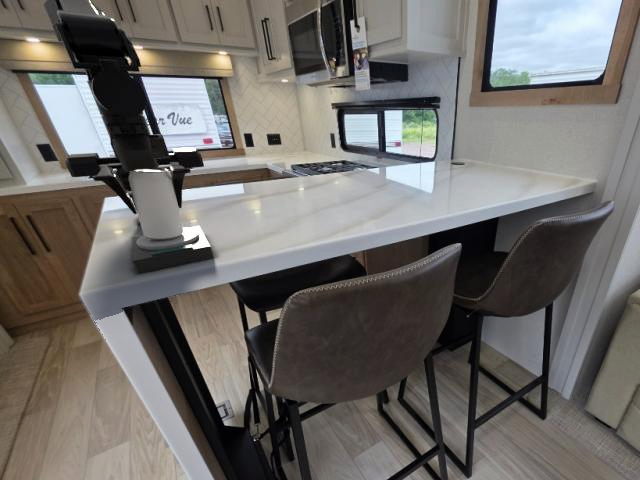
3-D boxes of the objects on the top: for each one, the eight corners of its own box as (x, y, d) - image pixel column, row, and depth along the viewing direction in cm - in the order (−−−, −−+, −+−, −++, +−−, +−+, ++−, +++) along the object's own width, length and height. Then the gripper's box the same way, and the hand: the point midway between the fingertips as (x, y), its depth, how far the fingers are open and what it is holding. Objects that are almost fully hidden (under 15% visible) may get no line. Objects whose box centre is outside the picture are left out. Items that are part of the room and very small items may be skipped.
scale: (136, 248, 67) (130, 233, 65) (202, 236, 73) (198, 222, 71) (138, 273, 57) (131, 256, 56) (214, 257, 63) (209, 242, 62)
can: (191, 235, 65) (178, 171, 59) (155, 242, 60) (137, 173, 54) (172, 228, 68) (158, 165, 62) (136, 234, 63) (117, 167, 57)
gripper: (35, 118, 43) (91, 232, 51) (194, 116, 53) (221, 213, 61) (49, 115, 51) (96, 214, 59) (185, 114, 60) (210, 200, 68)
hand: (158, 210), depth 62 cm, fingers closed on can, 7 cm apart
